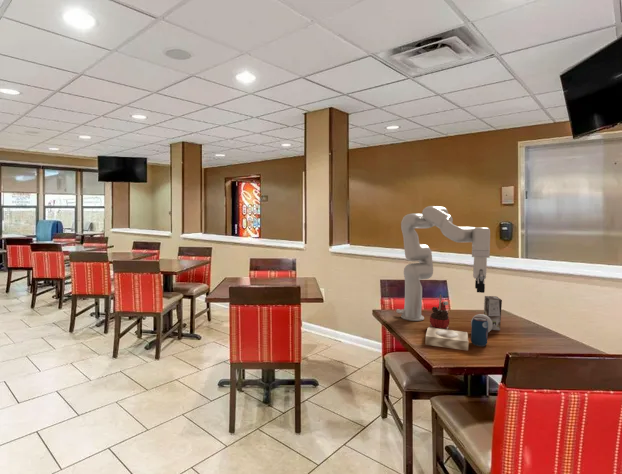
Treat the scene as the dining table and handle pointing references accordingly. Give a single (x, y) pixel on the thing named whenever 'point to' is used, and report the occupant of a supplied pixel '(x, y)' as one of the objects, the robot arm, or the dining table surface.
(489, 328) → the donut
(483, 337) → the soda can
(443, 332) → the block
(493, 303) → the coffee box
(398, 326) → the dining table surface
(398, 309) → the robot arm
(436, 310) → the cake
